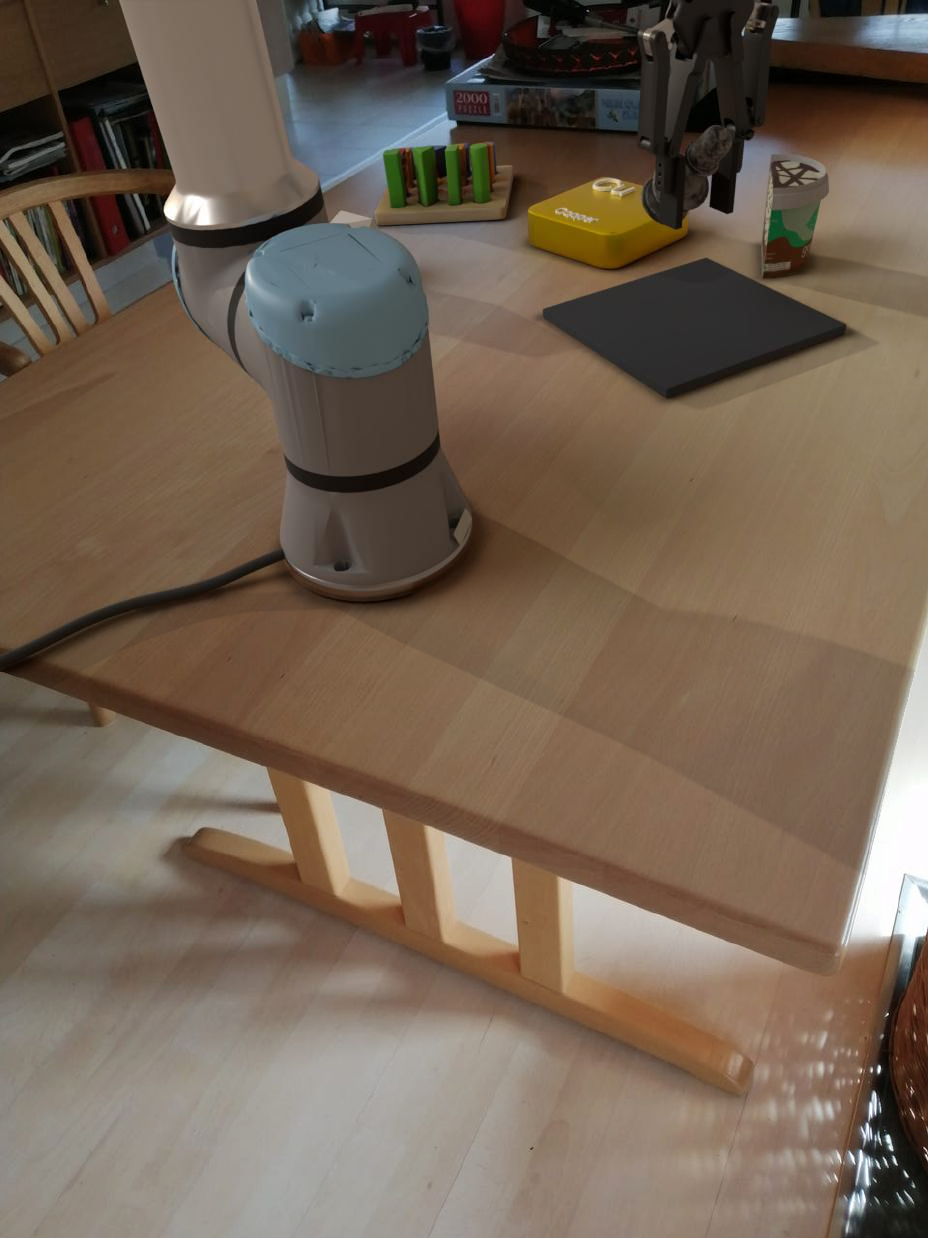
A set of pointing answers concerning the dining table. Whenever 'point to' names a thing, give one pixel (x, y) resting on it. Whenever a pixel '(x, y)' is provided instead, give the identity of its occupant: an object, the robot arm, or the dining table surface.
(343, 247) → the robot arm
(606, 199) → the element tile
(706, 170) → the salt shaker
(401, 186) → the peg board
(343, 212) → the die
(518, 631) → the dining table surface
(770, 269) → the food container
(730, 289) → the mat
